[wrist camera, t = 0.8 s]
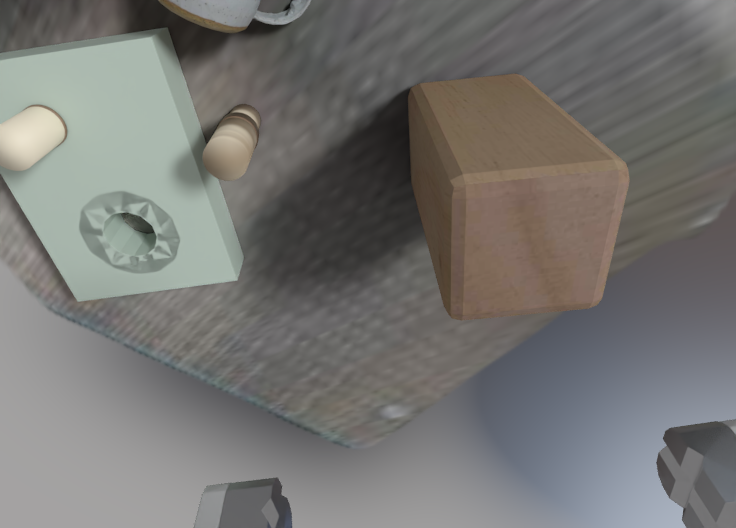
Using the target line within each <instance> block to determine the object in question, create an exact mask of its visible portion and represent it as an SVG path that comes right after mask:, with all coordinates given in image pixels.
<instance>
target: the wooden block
mask: <svg viewBox="0 0 736 528" xmlns="http://www.w3.org/2000/svg"><path fill="white" fill-rule="evenodd" d="M408 112H409V136H410V161H411V184H412V187H413V191H414V195H415V199H416V202H417V206H418V210H419V214H420V218H421V221H422V225H423V229H424V233H425V236H426V240H427V244H428V248H429V251H430V255H431V259H432V263H433V266H434V270H435V274H436V278H437V282H438V285H439V289H440V293H441V297H442V300H443V304H444V307H445V309H446V311H447V312H448V314H449V315H450V316H451V318H453V319H458V320H471V319H482V318H493V317H503V316H514V315H524V314H535V313H545V312H556V311H567V310H576V309H588V308H591V307H593V306H595V305H597V304H598V303H599V302H600V300H601V299H602V296H603V291H604V287H605V283H606V279H607V275H608V270H609V266H610V262H611V257H612V253H613V249H614V245H615V240H616V236H617V232H618V228H619V223H620V219H621V215H622V211H623V206H624V202H625V198H626V194H627V189H628V185H629V173H628V168H627V165H626V163H625V162H624V161H623V160H622V159H620V158H619V157H618V156H617V155H616V154H614V153H613V152H612V151H611V150H610V149H609V148H607V147H606V146H605V145H604V144H603V143H602V142H600V141H599V140H598V139H597V138H596V137H595V136H593V135H592V134H591V133H590V132H589V131H587V130H586V129H585V128H584V127H583V126H582V125H580V124H579V123H578V122H577V121H576V120H575V119H573V118H572V117H571V116H570V115H569V114H567V113H566V112H565V111H564V110H563V109H562V108H560V107H559V106H558V105H557V104H556V103H555V102H553V101H552V100H551V99H550V98H549V97H547V96H546V95H545V94H544V93H543V92H542V91H540V90H539V89H538V88H537V87H536V86H535V85H533V84H532V83H531V82H530V81H529V80H528V79H526V78H525V77H524V76H521V75H518V74H507V75H497V76H487V77H478V78H468V79H458V80H448V81H438V82H428V83H419V84H417V85H415V86H414V87H412V88H411V89H410V92H409V95H408Z"/></svg>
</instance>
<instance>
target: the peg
mask: <svg viewBox="0 0 736 528" xmlns="http://www.w3.org/2000/svg"><path fill="white" fill-rule="evenodd" d="M260 125H261V117H260V115H259V113H258V111H257V110H256V109H255V108H254V107H252V106H250V105H247V104H240V105H237V106H235V107H234V108H233V109H232V110H231V112H230V114H228V115H226V116H225V117H224V118H223V119H222V120H221V121H220V123H219V124H218V126H217V128H216V131H215V132H214V134H213V136H212V137H211V139H210V141H209V142H208V144H207V145H206V147H205V149H204V151H203V163H204V166H205V168H206V169H207V171H208V172H209V173H210V174H211V175H213V176H214V177H216V178H218V179H220V180H224V181H232V180H236V179H238V178H240V177H241V176H242V175H243V174H244V173H245V172H246V170H247V167H248V164H249V162H250V159H251V157H252V154H253V151H254V149H255V148H256V146H257V143H258V138H259V128H260Z"/></svg>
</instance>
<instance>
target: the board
mask: <svg viewBox="0 0 736 528" xmlns="http://www.w3.org/2000/svg"><path fill="white" fill-rule="evenodd" d="M206 145H207V144H206V141H205V138H204V135H203V132H202V129H201V126H200V123H199V120H198V117H197V114H196V111H195V108H194V105H193V102H192V99H191V96H190V93H189V90H188V87H187V84H186V81H185V78H184V75H183V72H182V69H181V66H180V63H179V60H178V57H177V54H176V51H175V48H174V45H173V42H172V39H171V36H170V33H169V30H168V27H165V28H159V29H152V30H146V31H139V32H133V33H127V34H120V35H114V36H107V37H101V38H94V39H88V40H81V41H75V42H68V43H62V44H56V45H49V46H43V47H36V48H30V49H23V50H17V51H10V52H4V53H0V174H1V175H2V177H3V179H4V180H5V182H6V184H7V185H8V187H9V189H10V190H11V192H12V194H13V195H14V197H15V199H16V200H17V202H18V203H19V205H20V207H21V208H22V210H23V212H24V213H25V215H26V217H27V218H28V220H29V222H30V223H31V225H32V227H33V228H34V230H35V232H36V233H37V235H38V237H39V238H40V240H41V242H42V243H43V245H44V247H45V248H46V250H47V252H48V253H49V255H50V257H51V258H52V260H53V262H54V263H55V265H56V267H57V268H58V270H59V271H60V273H61V275H62V276H63V278H64V280H65V281H66V283H67V285H68V286H69V288H70V290H71V291H72V293H73V295H74V296H75V298H76V300H77V301H78V302H79V301H87V300H94V299H102V298H109V297H117V296H124V295H132V294H139V293H147V292H154V291H162V290H169V289H177V288H184V287H192V286H199V285H207V284H214V283H222V282H229V281H237V280H238V277H239V273H240V270H241V266H242V263H243V260H244V256H243V253H242V250H241V247H240V244H239V241H238V238H237V235H236V232H235V229H234V226H233V223H232V220H231V217H230V214H229V211H228V208H227V205H226V202H225V199H224V196H223V193H222V189H221V186H220V183H219V180H218V178H216V177H214V176H213V175H211V174H210V173H209V172H208V171H207V169H206V168H205V166H204V163H203V151H204V149H205V147H206ZM124 212H128V213H131V214H134V215H138V216H141V217H142V218H143V219H144V220H146V221H147V222H148V223H149V224H151V225H152V227H153V229H154V232H155V233H150V234H146V233H143V232H140V231H136V230H134V229H133V228H132V227H130V226H129V225H128V224H127V223H125V221H124V219H123V217H122V215H121V213H124Z"/></svg>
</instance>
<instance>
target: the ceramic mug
mask: <svg viewBox="0 0 736 528" xmlns="http://www.w3.org/2000/svg"><path fill="white" fill-rule="evenodd" d="M158 1H159V2H160V3H161V4H162V5H164V6H165V7H166V8H167V9H169V10H170V11H172V12H173V13H175V14H177V15H179V16H181V17H182V18H184V19H186V20H188V21H191V22H193V23H196V24H198V25H200V26H203V27H206V28H209V29H212V30H216V31H221V32H225V33H237V32H240V31H243V30H245V29H246V28H247V27H248V25H249V24H250V22H251V20H252V19H256V20H258V21H260V22H263V23H265V24H272V25H283V24H287V23H290V22H292V21H294V20H295V19H297V18H298V17H300V16H301V15H302V14H303V12H304V11H305V10H306V9H307V7H308V6H309V4H310V2H311V0H293V1H291V4H290V7H291V8H289V9H288V10H286V11H284V12H280V13H277V14H273V13H265V12H260V11H257V9H258V6H259V3H260V0H158Z"/></svg>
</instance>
